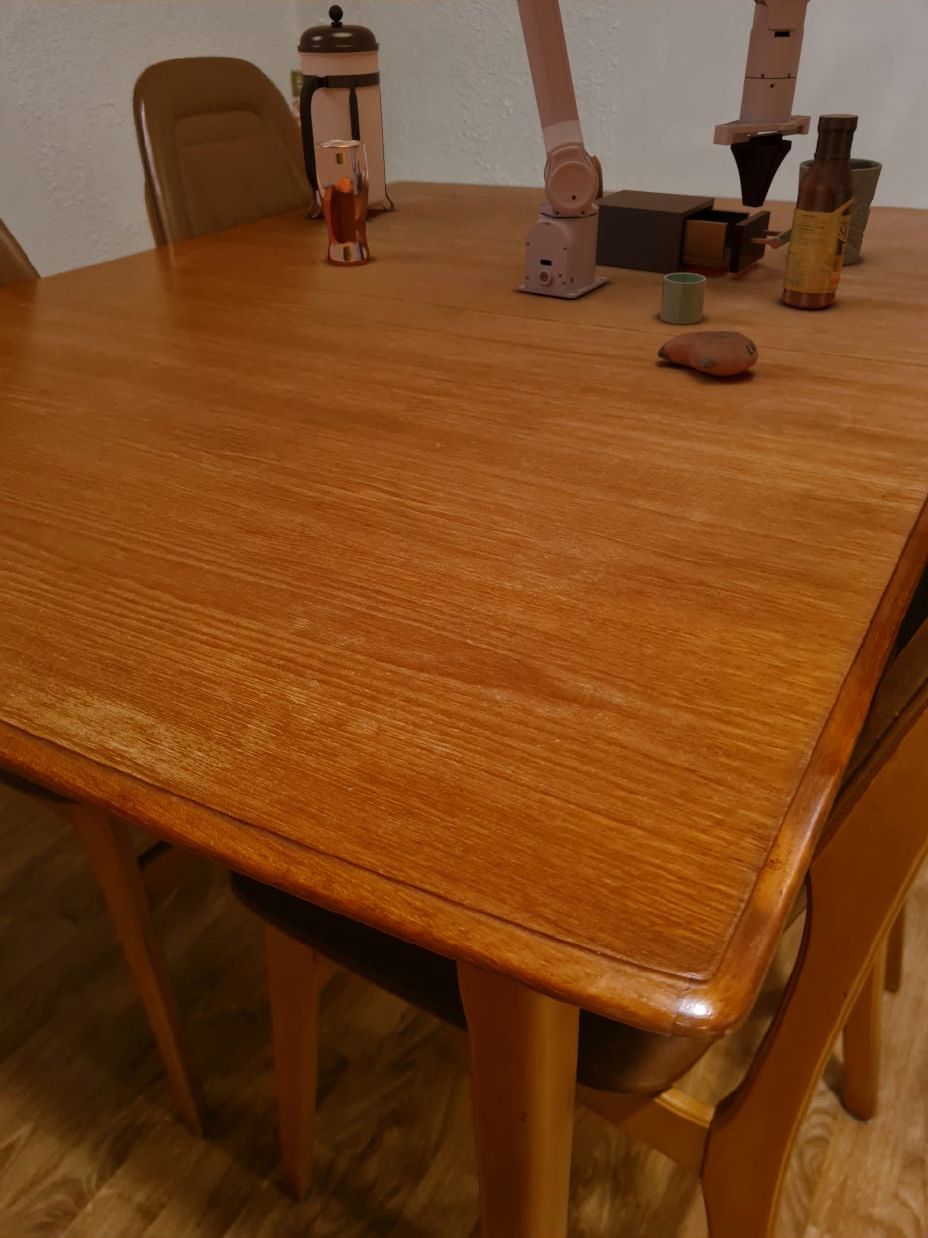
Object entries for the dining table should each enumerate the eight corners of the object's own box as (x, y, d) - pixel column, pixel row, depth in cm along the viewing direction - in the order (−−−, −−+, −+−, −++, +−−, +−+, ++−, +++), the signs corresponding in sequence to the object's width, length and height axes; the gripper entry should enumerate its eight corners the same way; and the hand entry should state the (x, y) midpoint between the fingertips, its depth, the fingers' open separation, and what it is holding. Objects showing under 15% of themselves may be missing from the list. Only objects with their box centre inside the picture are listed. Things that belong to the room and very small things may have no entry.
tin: (603, 223, 153) (606, 165, 148) (583, 223, 153) (586, 166, 148) (594, 205, 165) (597, 151, 161) (576, 205, 165) (578, 151, 161)
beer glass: (377, 254, 137) (370, 139, 129) (368, 266, 132) (360, 146, 123) (330, 254, 138) (320, 139, 130) (319, 266, 132) (308, 146, 124)
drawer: (795, 260, 127) (803, 213, 124) (770, 277, 120) (778, 229, 117) (677, 246, 135) (681, 202, 132) (646, 262, 128) (650, 215, 124)
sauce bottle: (837, 311, 110) (875, 118, 99) (781, 309, 111) (813, 118, 100) (831, 296, 116) (866, 111, 105) (777, 294, 117) (807, 111, 106)
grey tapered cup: (878, 262, 129) (899, 165, 122) (817, 270, 126) (835, 171, 119) (828, 247, 137) (845, 154, 130) (769, 254, 134) (784, 160, 127)
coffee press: (294, 209, 166) (272, 5, 150) (383, 202, 170) (371, 2, 154) (311, 229, 153) (289, 6, 136) (408, 221, 156) (398, 3, 140)
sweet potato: (717, 359, 100) (649, 370, 97) (719, 319, 98) (650, 330, 95) (770, 375, 92) (698, 387, 90) (773, 332, 90) (700, 343, 88)
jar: (691, 326, 107) (696, 285, 104) (653, 320, 109) (657, 279, 106) (707, 316, 110) (712, 275, 107) (669, 310, 112) (673, 270, 109)
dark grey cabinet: (708, 255, 134) (715, 197, 129) (675, 274, 126) (682, 212, 121) (619, 245, 140) (623, 189, 136) (583, 262, 132) (586, 202, 128)
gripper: (756, 82, 101) (737, 218, 109) (840, 74, 108) (818, 202, 116) (705, 79, 106) (691, 209, 114) (789, 71, 113) (771, 194, 121)
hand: (752, 205), depth 115 cm, fingers closed
